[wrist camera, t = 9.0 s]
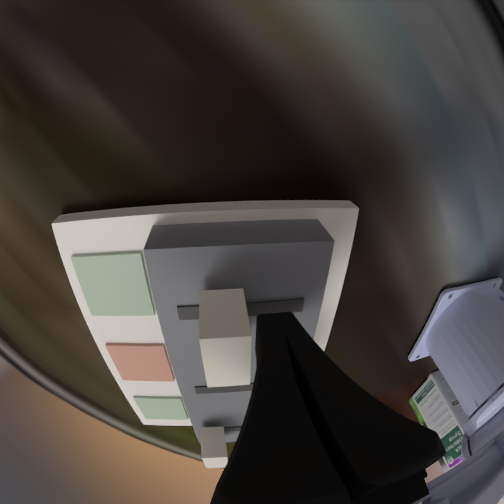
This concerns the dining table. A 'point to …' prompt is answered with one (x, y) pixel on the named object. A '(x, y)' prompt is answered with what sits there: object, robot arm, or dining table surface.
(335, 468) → the robot arm
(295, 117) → the dining table surface
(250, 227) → the switch unit
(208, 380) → the knob near
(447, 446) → the syrup box
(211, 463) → the knob far
